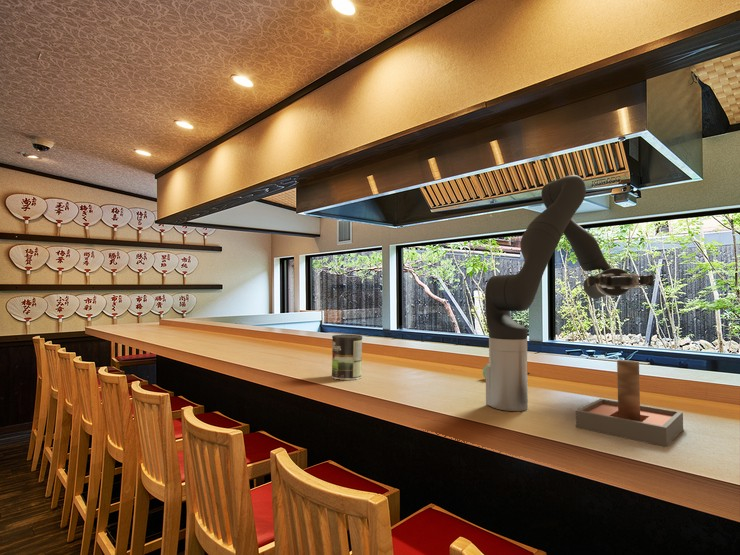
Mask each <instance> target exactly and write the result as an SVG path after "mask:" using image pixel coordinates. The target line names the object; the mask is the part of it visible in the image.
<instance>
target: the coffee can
mask: <svg viewBox="0 0 740 555" xmlns="http://www.w3.org/2000/svg"><path fill="white" fill-rule="evenodd" d="M331 339H332V345H331V346H332V347H331V348H332V350H331V352H332V353H331V354H332V355H331V379H333V378H334V379H333V380H336V379H340V380H339V381H356V380H355V379H358V380H361V379H362V361H363V360H362V359H363V358H362V356H363V355H362V354H363V353H362V349H363V335H358V334H334V335H332V336H331ZM360 378H361V379H360Z"/></svg>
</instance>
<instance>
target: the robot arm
mask: <svg viewBox="0 0 740 555" xmlns="http://www.w3.org/2000/svg"><path fill="white" fill-rule="evenodd" d="M586 190H587V188H586V183H585V181H584V179H583V178H582V177H581V176H579V175H576V174H572V175H570V174H569V175H566V176H564V177H560V178H558V179H556V180H553V181H550V182H548V183H546V184H544V185H543V187H542V189H541V191H540V192H541V200H542V202H543V204H544V206H545V208H546V209H544V210H543V211H542V212H540V214H538V215H537V216H536V217H534V219H533V220H532V221H530V223H529V224H528V225H527V228H526V230H524V233H523V235H522V236H521V239H520V242H519V248H520V251H521V255H522V257H523V259H524V264H522V267H521V269H520V270H519V271H518V272H517V273H516V274H498V275H493V276H491V277H490V278H489V279H488V280H487V282H486V285H485V289H484V290H485V291H484V303H485V304H484V305H485V320H486V327H487V330H488V352H489V353H488V364H489V367H486V379H485V405H486V406H489V407H492V408H493V409H497V410H502V411H511V412H522V411H526V410H528V406H529V405H528V404H529V402H528V401H529V399H528V398H529V397H528V390H529V389H528V386H529V384H528V382H529V381H528V377H529V376H528V373H527V361H528V329H527V328H526V327H525V326H524V325H522V324H519V323H518V322H516V321H515V320H513V318H512V317H511V315H510V312H523V311H526V310H528V309H529V308H530V307H531V306H532V304H533V302H534V300H535V297H536V295H537V292H538V289H539V287H540V283H541V280H542V278H543V276H544V272H545V271H546V268H547V266H548V264H549V262H550V260H551V258H552V256H553V255H554V253H555V250H556V249H557V247H558V245H559V243H560V241H561V238H562V236H563V235H564V237H565V238H566V239H567V241H568V242H569V244H570V247H571V249H572V250H573V254H574V255H575V257H576V259H577V261H578V263H579V266H580V268H581V270H583V271H585V272H591V271H592V272H593V271H597V270H601V271H602V272H600V273H597V274H594V275H589V276H587V278H585V279H584V281H583V284H582V285H583V290H584V292H585V294H586V295H587V296H588V297H589V298H590V299H593V300H597V299H600V298H604V297H606V296H607V297H619V296H622V295H624V294H626V293H627V292H629V290H630V289H634V288H635V289H637V288H639V287H640V286H641V287H644V288H645V287H653V286H655V281H654V278H655V276H654V275H653V274H649V275H647V274H646V275H645V274H641V275H639V274H637V273H636V274H635V273H630V274H629V273H628V272H627V271H626V270H624V269H622V268H619V267H612V266H611V265H610V264H609V263H608V261H607V259H606V258H605V256H604V253H603V252H602V249H601V247H600V245H599V243H598V241H597V239H596V237H594V236H593V234H592V233H590V232H589V231H588V230H586V229H585V228H583V227H582V226H581V225H580V224H578V223H577V222H576V221H575V220H574V219H573V217H574V215H575V214H576V212H577V211H578V209H579V208H580V207H581V206H582V204H583V202H584V200H585V197H586V193H587V191H586Z"/></svg>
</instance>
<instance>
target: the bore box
mask: <svg viewBox="0 0 740 555" xmlns="http://www.w3.org/2000/svg"><path fill="white" fill-rule="evenodd" d="M575 428H577V429H583V430H586V431H592V432H596V433H601V434H606V435H609V436H614V437H619V438H624V439H629V440H634V441H638V442H643V443H647V444H652V445H657V446H661V447H665V448H667V447H668V446H669V445H670V444H671V443H672V442H673V441H674V440H675V439H676V437H678V435H679V434H680V433H681V432H682V431H683V430H684V411H679V410H678V411H677V410H673V409H666V408H660V407H654V406H648V405H641V404H640V422H639V421H634V420H629V419H624V418H618V400H611V399H606V398H599V399H597V400H595V401H593V402H591V403H589V404H587V405H585V406H582V407H580V408H579V409H576V410H575Z"/></svg>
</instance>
